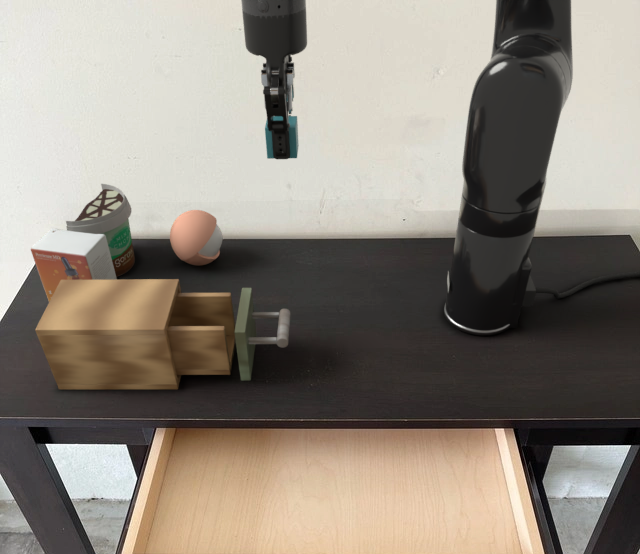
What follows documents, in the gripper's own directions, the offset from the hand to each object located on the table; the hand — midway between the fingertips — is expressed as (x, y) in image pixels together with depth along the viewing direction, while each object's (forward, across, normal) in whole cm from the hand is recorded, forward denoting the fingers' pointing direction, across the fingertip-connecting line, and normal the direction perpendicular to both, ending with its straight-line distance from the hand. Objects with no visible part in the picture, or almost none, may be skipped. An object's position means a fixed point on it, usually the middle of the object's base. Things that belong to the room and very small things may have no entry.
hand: (283, 150), depth 89 cm
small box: (+16, -14, +27) cm, 35 cm away
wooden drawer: (+15, -25, +7) cm, 30 cm away
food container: (+16, -2, +26) cm, 30 cm away
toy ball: (+16, -1, +14) cm, 21 cm away
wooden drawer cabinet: (+16, -25, +19) cm, 36 cm away
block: (0, 0, 0) cm, 0 cm away
